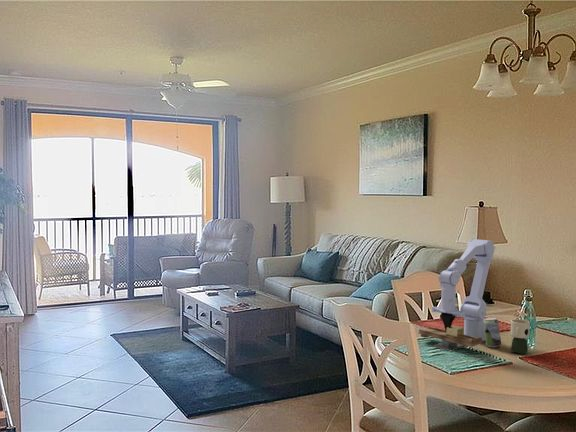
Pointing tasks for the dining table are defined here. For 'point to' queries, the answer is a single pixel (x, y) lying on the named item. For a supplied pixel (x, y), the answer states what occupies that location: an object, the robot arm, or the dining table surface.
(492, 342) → the beverage can
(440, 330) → the beam
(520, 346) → the character mug
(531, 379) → the dining table surface
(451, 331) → the brass block
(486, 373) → the dining table surface
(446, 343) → the pivot stand
